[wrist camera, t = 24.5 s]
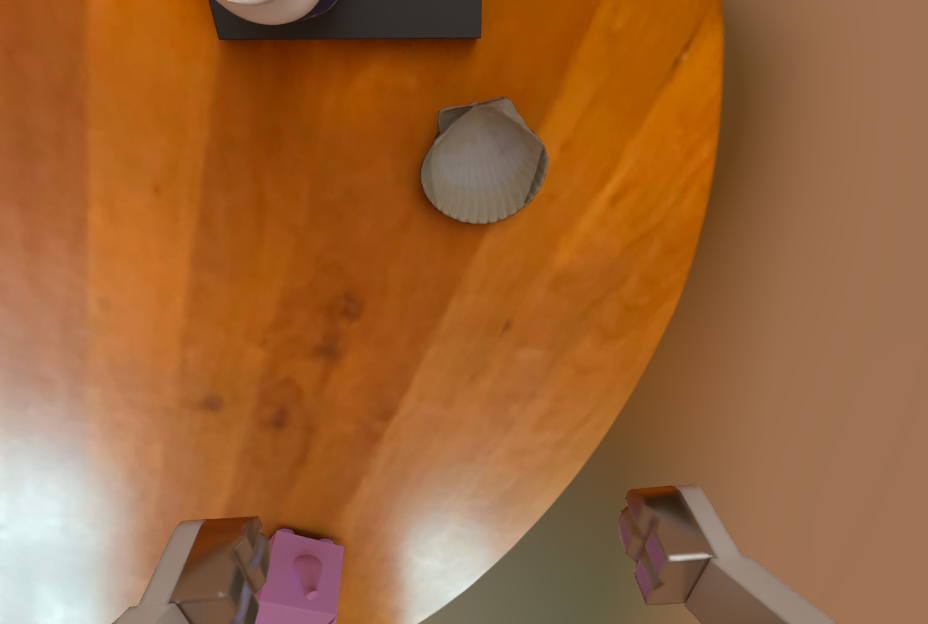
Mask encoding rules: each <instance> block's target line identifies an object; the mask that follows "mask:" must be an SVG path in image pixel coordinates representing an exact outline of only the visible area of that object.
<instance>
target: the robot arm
mask: <svg viewBox="0 0 928 624" xmlns="http://www.w3.org/2000/svg"><path fill="white" fill-rule="evenodd" d="M625 499H626V502H627V504H628V506H627V507H625V508H624V509H623V510H621V514H620V517H619V529H620V530H619V531H620V536H621V540H622V543H623V546H624V549H625V552H626V554H627V555H629V556H630V557H631V558H632V559H633V560H634V561H635V562H636V563H637V565H636V568H635V572H634V575H635V578H636V580H637V583H638V585H639V588H640V591H641V593H642V596H643V598H644V601H645V603H646V605H665V604H680V603H685V607H686V608H687V609H688V610H689V611H690V612H691V613H692V614H693V615H694V616H695V617H696V618H697V620H698V621H699V622H700V623H701V624H837V623H836V622H834V621H833V620H832V619H830V618H829V617H828V616H827V615H825V614H824V613H822V612H821V611H820V610H819V609H817V608H816V607H815V606H813V605H812V604H811V603H810V602H808V601H807V600H806V599H804V598H803V597H802V596H800V595H799V594H798V593H796V592H795V591H794V590H793V589H791V588H790V587H789V586H787V585H786V584H784V583H783V582H782V581H781V580H779V579H778V578H777V577H776V576H774V575H773V574H772V573H770V572H769V571H768V570H766V569H765V568H764V567H762V566H761V565H760V564H758V563H757V562H756V561H754V560H753V559H752V558H751V557H749V556H741V554H740V553H739V551H738V549H737V548H736V546H735V544H734V543H733V541H732V539H731V538H730V536H729V534H728V533H727V531H726V529H725V528H724V526H723V524H722V523H721V521H720V519H719V518H718V516H717V514H716V513H715V511H714V509H713V508H712V506H711V504H710V503H709V501H708V499H707V498H706V496H705V494H704V493H703V491H702V490H701V489H700V488H699V487H698V486H697V485H680V486H662V487H651V488H640V489H631V490H629V491H628V492H627V495H626V498H625ZM261 528H262V523H261V521H260V519H259V517H258V516H253V517H237V518H222V519H201V520H189V521H181V522H180V523H179V525H178V526H177V527H176V528H175V529H174V531H173V533H172V535H171V537H170V539H169V541H168V543H167V545H166V548H165V550H164V552H163V554H162V556H161V558H160V560H159V562H158V565H157V567H156V569H155V571H154V573H153V575H152V577H151V579H150V581H149V584H148V586H147V588H146V590H145V592H144V594H143V596H142V598H141V600H140V603H139V605H138V606H133V607H129V608H128V609H127V610H126V611H125V612H124V613H123V614H122V615H121V616H120V617H119V618H118V619H117V620H115V621H114V622H113V623H112V624H255V622H256V618H257V614H258V611H259V607H260V604H259V602H258V600H257V597H256V595H255V594H256V593H257V592H258V591H259V590H260V589H261V588H262V587H263V585H264V584H265V583H266V581H267V577H268V573H269V569H270V558H271V549H270V543H269V540H268V537H267V536H265V535H263V534H261V533H260V531H261Z"/></svg>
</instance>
